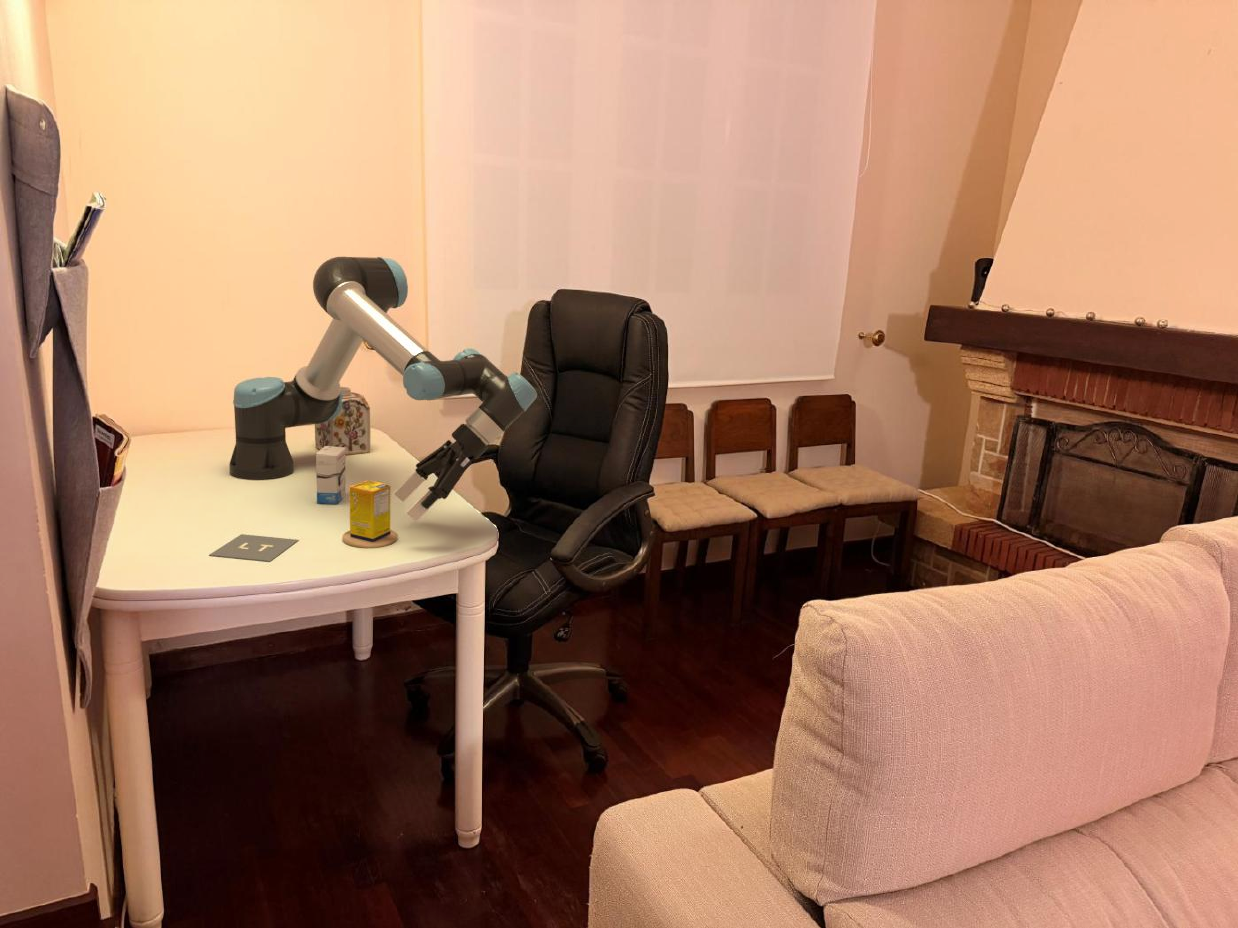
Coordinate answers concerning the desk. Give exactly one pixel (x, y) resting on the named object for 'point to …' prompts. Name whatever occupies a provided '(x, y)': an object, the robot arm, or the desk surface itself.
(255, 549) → the grey flat square slab
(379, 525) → the supplement box
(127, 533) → the desk surface
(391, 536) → the coaster
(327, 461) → the ink box
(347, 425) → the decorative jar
